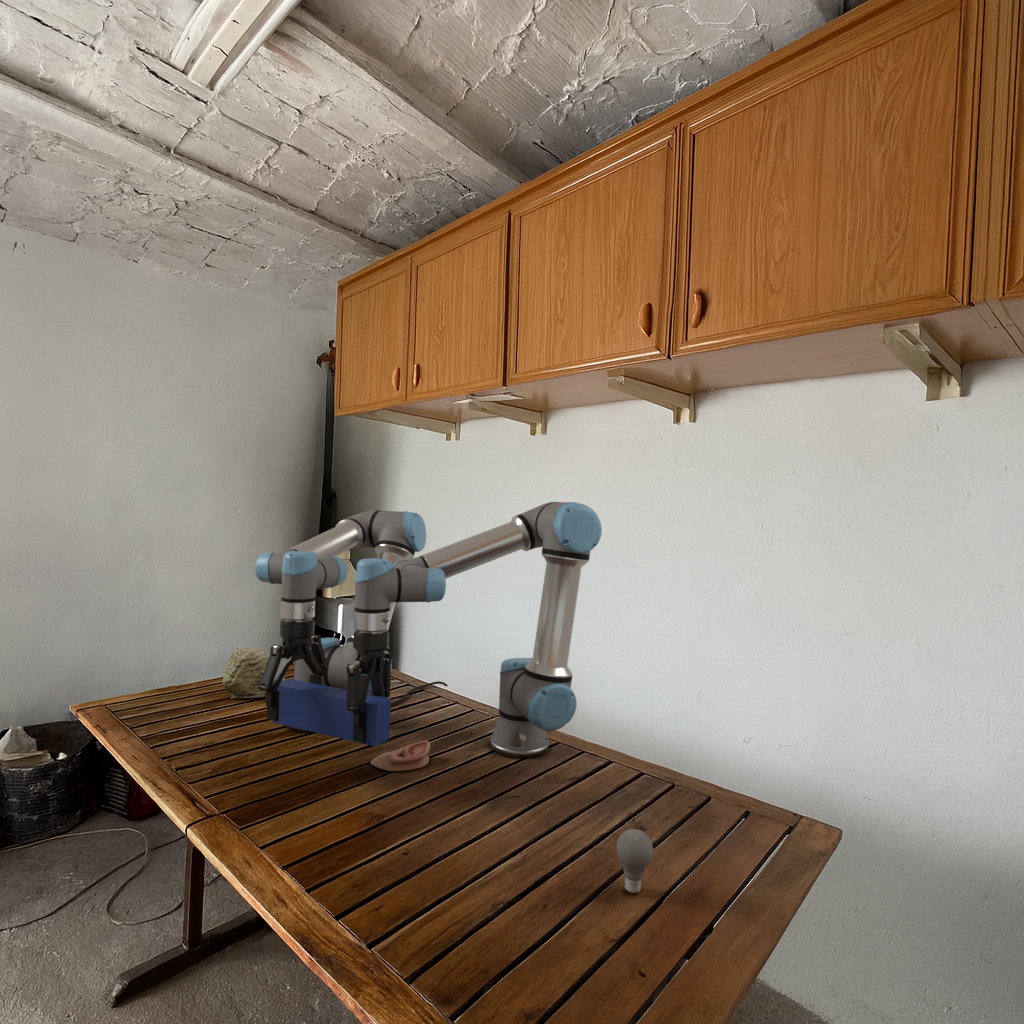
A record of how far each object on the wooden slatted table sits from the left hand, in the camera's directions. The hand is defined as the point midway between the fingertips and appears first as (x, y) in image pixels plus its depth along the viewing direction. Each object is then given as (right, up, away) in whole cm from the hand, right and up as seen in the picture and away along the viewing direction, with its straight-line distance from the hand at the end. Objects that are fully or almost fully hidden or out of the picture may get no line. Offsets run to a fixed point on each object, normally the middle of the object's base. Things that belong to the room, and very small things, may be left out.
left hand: (294, 711), depth 146 cm
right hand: (+19, -3, -8) cm, 21 cm away
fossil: (-30, -11, +52) cm, 62 cm away
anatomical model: (+23, -15, +7) cm, 28 cm away
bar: (+9, -3, -4) cm, 11 cm away
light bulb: (+70, -18, -40) cm, 83 cm away
